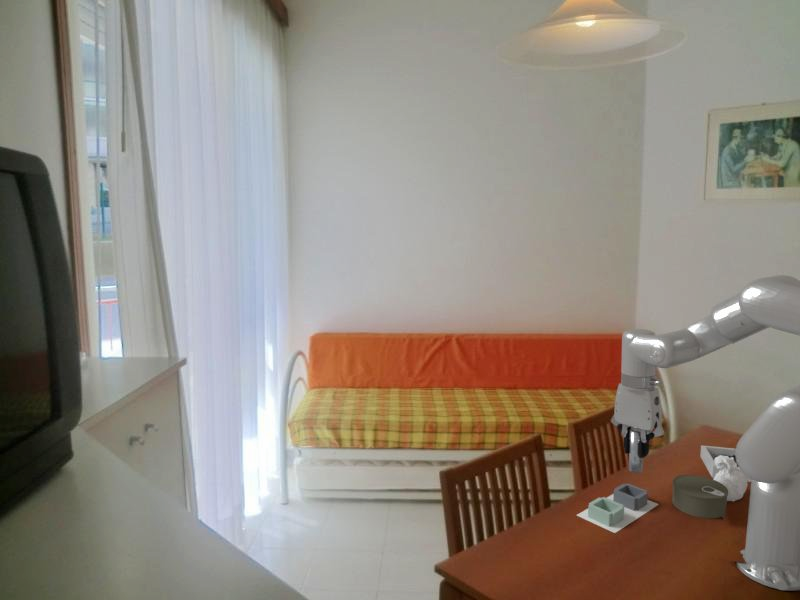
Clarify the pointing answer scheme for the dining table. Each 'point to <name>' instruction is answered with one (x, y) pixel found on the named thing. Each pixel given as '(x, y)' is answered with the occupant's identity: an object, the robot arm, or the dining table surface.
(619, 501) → the tool board
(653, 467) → the dining table surface
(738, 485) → the bust
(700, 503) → the can
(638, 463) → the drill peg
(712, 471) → the controller tray
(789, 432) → the robot arm
